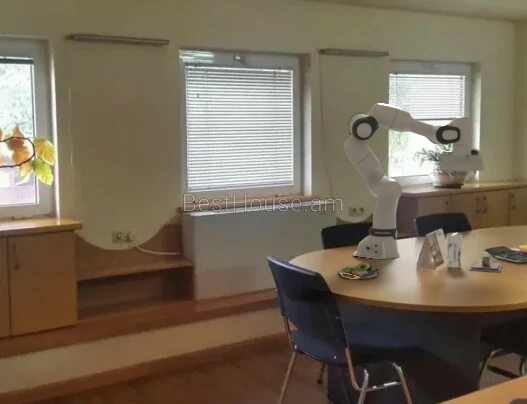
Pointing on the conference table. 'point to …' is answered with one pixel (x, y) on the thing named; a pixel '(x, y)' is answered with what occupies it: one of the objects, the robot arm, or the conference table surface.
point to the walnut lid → (485, 264)
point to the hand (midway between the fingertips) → (461, 180)
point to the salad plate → (360, 271)
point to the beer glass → (454, 249)
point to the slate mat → (486, 270)
